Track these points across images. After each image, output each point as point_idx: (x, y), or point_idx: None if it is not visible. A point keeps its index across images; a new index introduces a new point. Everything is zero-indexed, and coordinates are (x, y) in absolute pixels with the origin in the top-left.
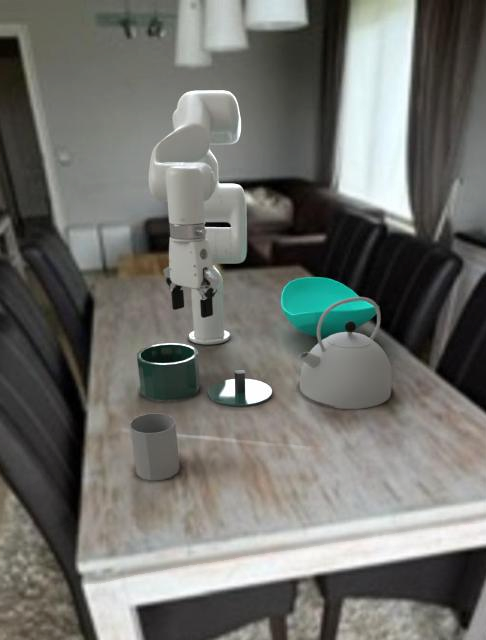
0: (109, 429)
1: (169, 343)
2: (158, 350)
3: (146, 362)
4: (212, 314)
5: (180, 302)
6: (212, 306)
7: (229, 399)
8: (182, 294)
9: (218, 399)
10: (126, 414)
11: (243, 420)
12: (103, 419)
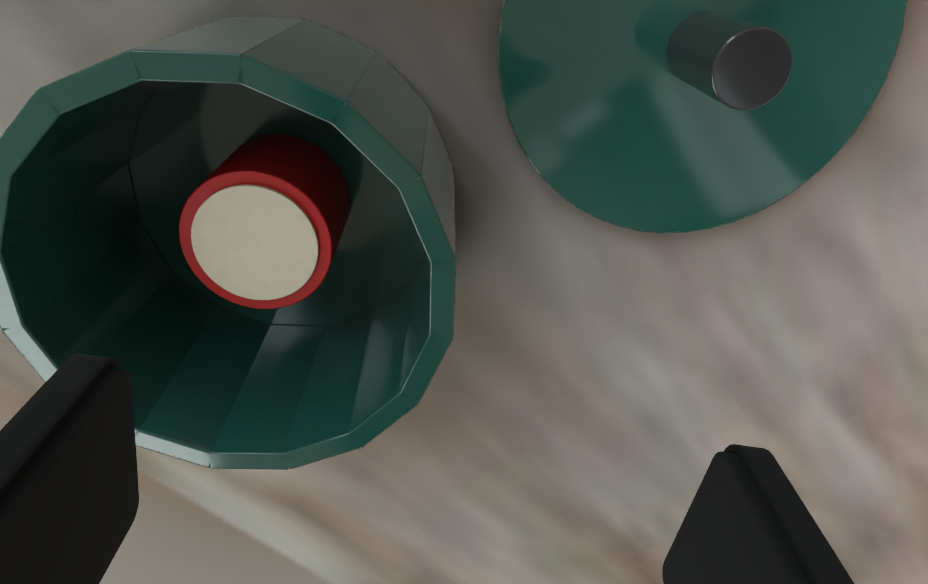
0: (372, 561)
1: (32, 106)
2: (33, 185)
3: (248, 468)
4: (761, 452)
5: (89, 483)
6: (821, 539)
7: (689, 182)
8: (10, 551)
9: (634, 213)
10: (328, 469)
11: (816, 282)
12: (290, 529)
